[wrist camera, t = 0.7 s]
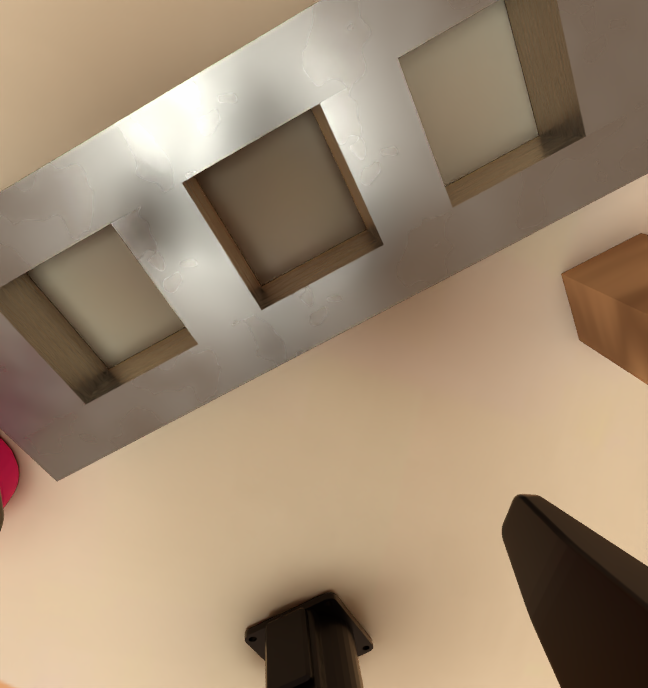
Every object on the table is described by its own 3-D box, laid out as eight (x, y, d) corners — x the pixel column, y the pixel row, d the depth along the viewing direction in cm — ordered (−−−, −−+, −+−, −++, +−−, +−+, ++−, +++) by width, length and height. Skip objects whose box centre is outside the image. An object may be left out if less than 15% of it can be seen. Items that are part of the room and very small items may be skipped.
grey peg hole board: (626, 150, 20) (685, 153, 17) (81, 438, 22) (56, 481, 19) (576, -137, 15) (643, -193, 13) (-92, 261, 18) (-154, 284, 15)
